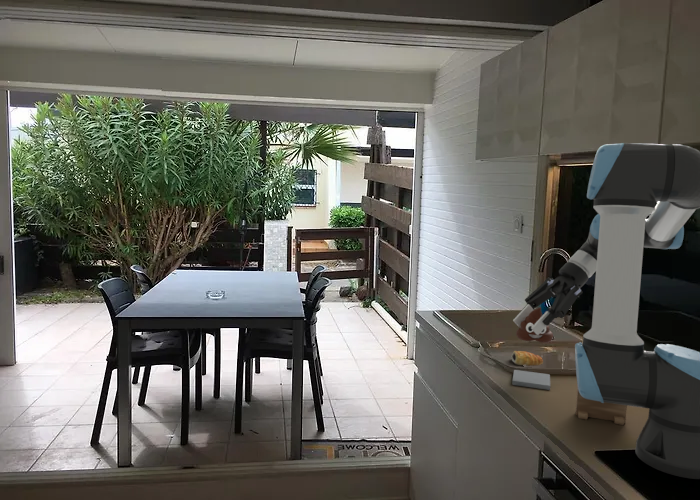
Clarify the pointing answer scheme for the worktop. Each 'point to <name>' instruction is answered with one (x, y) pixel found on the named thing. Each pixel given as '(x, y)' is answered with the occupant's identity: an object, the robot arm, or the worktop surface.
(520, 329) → the poop emoji
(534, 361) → the pastry
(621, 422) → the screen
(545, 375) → the board
